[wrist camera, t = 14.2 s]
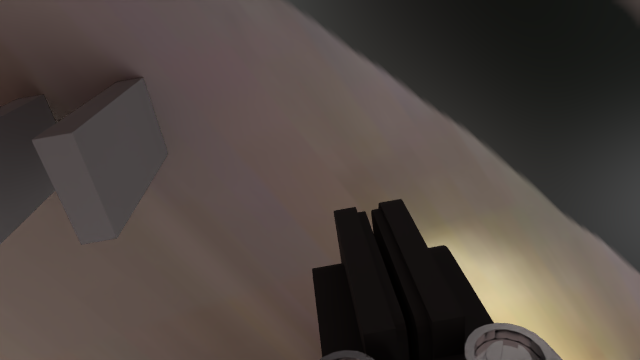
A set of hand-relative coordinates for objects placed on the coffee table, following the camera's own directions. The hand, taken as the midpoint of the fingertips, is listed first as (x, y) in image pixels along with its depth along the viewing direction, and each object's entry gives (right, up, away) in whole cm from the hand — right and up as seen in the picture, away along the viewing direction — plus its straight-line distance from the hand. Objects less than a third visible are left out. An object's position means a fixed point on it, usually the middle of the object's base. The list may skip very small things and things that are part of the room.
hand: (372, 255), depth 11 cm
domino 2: (-12, +6, +16) cm, 21 cm away
